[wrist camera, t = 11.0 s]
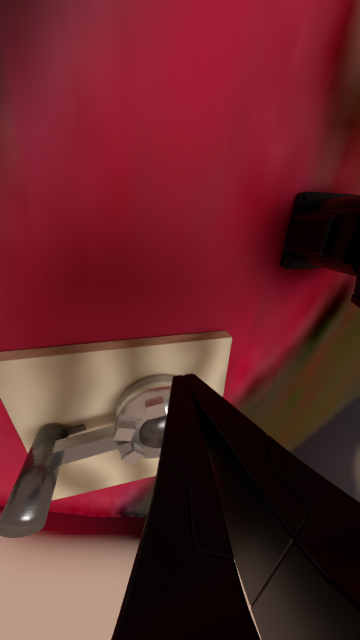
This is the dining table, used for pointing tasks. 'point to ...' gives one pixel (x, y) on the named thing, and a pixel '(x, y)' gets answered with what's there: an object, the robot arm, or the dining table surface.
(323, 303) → the dining table surface
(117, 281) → the dining table surface
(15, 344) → the dining table surface
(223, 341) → the birch board
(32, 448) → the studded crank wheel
